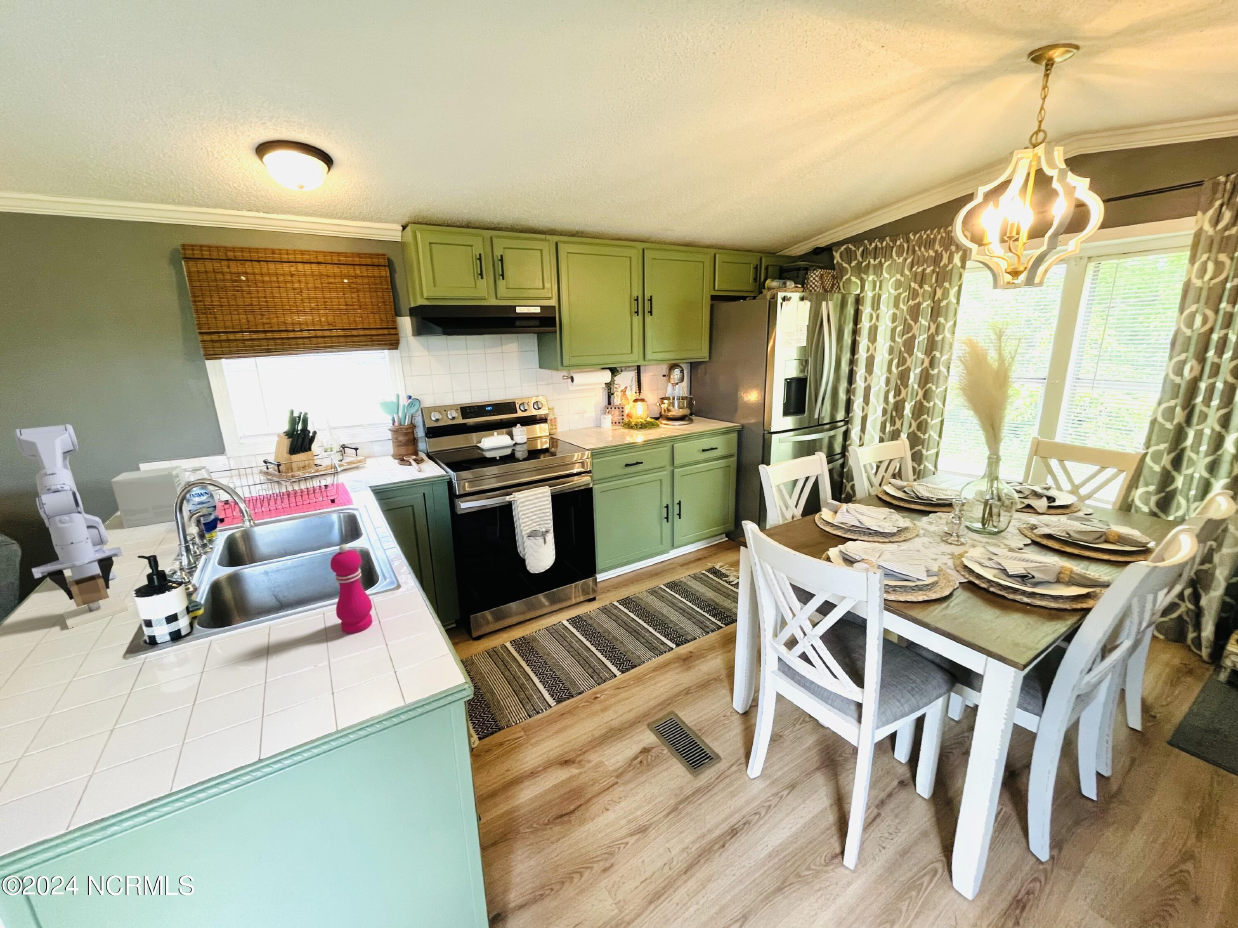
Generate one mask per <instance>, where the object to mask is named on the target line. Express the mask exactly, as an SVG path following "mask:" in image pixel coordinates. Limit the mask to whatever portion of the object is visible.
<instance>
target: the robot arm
mask: <svg viewBox="0 0 1238 928" xmlns="http://www.w3.org/2000/svg"><path fill="white" fill-rule="evenodd" d="M13 435H14V439H15V442H16V445H17V449H18V450H19V452H20V453H21V454H22V455H23V456H24V457H25V458H26V459H28V460H35V461H36V460H37V462H38V464H39V467H40V471H39V472H38V473H36V475H35V480H36V481H35V482H36V487H37V492H38V497H36V498H35V499H36V501H35V502H36V505H37V509H38V512H39V514H40V516H41V518H42V519H43V521H44V523H45V526H46V528H48V530H49V533H50V535H51V536H50V537H51V541H52V545H53V547H54V550H55V552H56V554H57V557H58V559H59V560H55V561H52V562H50V563H47V564H43V565H40V566H37V567H32V568H31V572H32V575H33V577H34V579H38V578H41V577H43V576H46V575H47V577H48V579H49V580H50V581H51V582H53V583H54V584H55V585H56V586H58V587H59V588H60V589H61V590H62V591H63V592H64V593H65V594H66V596H67V597H68V600H70V601H71V600H74V597H73V594H72V592H71V590H70V587H69V584H68V580H67V577H66V575H65V571H66V570H70V573H71V575H72V577H71V578H70V581H72V580H76V579H79V578H83V577H87V576H90V575H94V574H98V573H100V575H101V576H102V578H103V580H104V583H105V586H106V589H107V590H109V589H110V588H111V586H110V580H113V579H116V578H117V575H116V574H115V573H114V571H113V566H114V564H115V561H114V559H113V558H116V557H117V558H119V557H123V556H124V553H123V551H122V548H121V547H120V546H116V547H113V548H106V549H105V547H104V546H106V545H107V544H108V543H109V538H108V535H107V531H106V528H105V525H104V524H103V521H102V519H101V518H100V517H98V516H95V515H92V514H88V513H85V511H84V506H83V503H82V499H81V496H80V493H79V492H78V490H77V486H76V483H75V480H74V479H75V478H74V475H73V472H72V471H71V470H72V469H71V467H70V466H71V465H70V463H69V462H70V461H69V460H70V457H71V456H73V455H75V454H77V453H79V446H78V445H79V444H78V440H77V437H76V434H75V431H74V427H73V425H71V424H69V423H66V424H60V425H49V426H42V427H41V426H40V427H31V428H29V427H28V428H22V429H21V428H16V429H15V430H14V431H13Z"/></svg>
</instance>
